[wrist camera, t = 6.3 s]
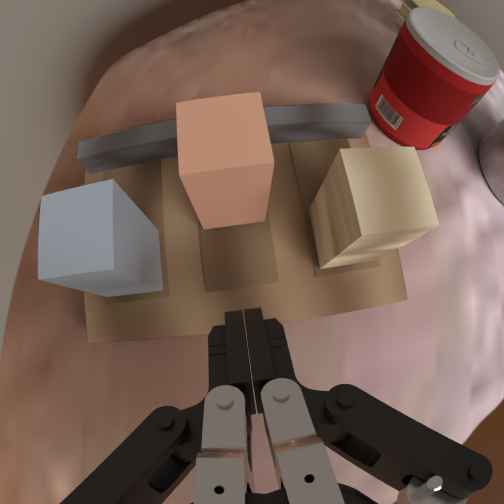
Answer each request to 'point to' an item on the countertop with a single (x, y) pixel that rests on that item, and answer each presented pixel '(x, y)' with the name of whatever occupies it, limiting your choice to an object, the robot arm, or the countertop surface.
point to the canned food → (431, 79)
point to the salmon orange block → (225, 158)
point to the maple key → (370, 205)
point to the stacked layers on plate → (419, 0)
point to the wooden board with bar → (235, 233)
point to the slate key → (98, 242)
